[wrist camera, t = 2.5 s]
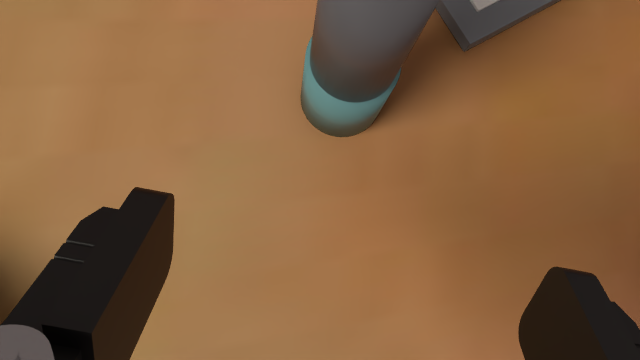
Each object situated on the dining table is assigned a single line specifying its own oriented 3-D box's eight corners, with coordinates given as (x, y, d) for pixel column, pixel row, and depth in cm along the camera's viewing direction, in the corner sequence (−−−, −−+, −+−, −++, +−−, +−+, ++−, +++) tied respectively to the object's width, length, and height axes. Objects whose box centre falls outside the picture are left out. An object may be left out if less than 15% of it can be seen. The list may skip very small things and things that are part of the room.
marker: (285, 82, 29) (295, -141, 14) (354, 47, 29) (436, -200, 14) (326, 151, 28) (383, -2, 13) (395, 113, 29) (525, -72, 14)
